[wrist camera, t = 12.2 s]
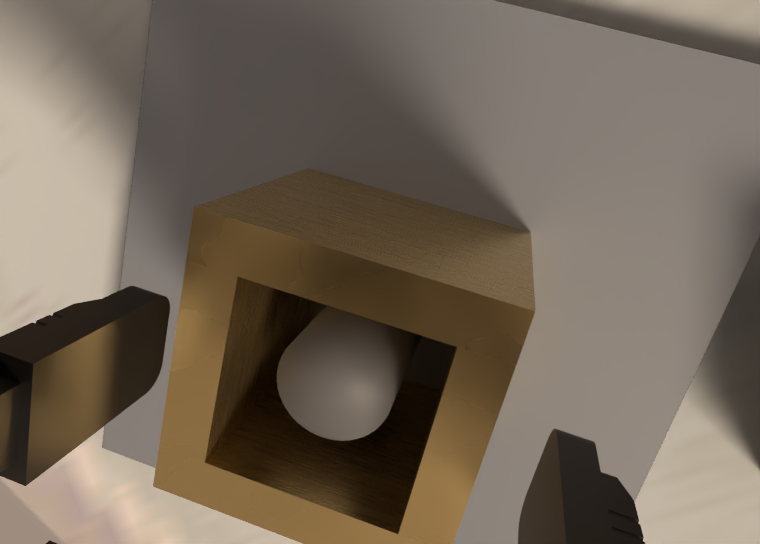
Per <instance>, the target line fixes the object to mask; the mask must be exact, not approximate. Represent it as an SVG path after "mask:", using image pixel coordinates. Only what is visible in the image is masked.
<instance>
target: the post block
mask: <svg viewBox="0 0 760 544" xmlns="http://www.w3.org/2000/svg"><path fill="white" fill-rule="evenodd" d="M307 168H311V169H314V170H318V171H321V172H325V173H328V174H332V175H335V176H339V177H342V178H345V179H349V180H352V181H356V182H359V183H363V184H366V185H370V186H373V187H377V188H380V189H383V190H387V191H390V192H394V193H397V194H401V195H404V196H408V197H411V198H415V199H418V200H422V201H425V202H428V203H432V204H435V205H439V206H442V207H446V208H449V209H453V210H456V211H460V212H463V213H466V214H470V215H473V216H477V217H480V218H484V219H487V220H491V221H494V222H498V223H501V224H504V225H508V226H511V227H515V228H518V229H522V230H525V231H529V232H531V242H532V259H533V276H534V293H535V314H534V317H533V320H532V323H531V326H530V328H529V331H528V334H527V337H526V340H525V342H524V345H523V348H522V351H521V354H520V356H519V359H518V362H517V365H516V368H515V371H514V373H513V376H512V379H511V382H510V385H509V387H508V390H507V393H506V396H505V399H504V401H503V404H502V407H501V410H500V413H499V416H498V418H497V421H496V424H495V427H494V430H493V432H492V435H491V438H490V441H489V444H488V446H487V449H486V452H485V455H484V458H483V461H482V463H481V466H480V469H479V472H478V475H477V477H476V480H475V483H474V486H473V489H472V491H471V494H470V497H469V500H468V503H467V506H466V508H465V511H464V514H463V517H462V520H461V522H460V525H459V528H458V531H457V534H456V536H455V539H454V542H453V544H518V527H519V520H520V515H521V510H522V507H523V503H524V500H525V497H526V494H527V491H528V489H529V486H530V484H531V481H532V479H533V476H534V473H535V471H536V468H537V466H538V463H539V461H540V458H541V455H542V453H543V450H544V448H545V445H546V443H547V440H548V438H549V436H550V434H551V432H552V430H553V429H558V430H561V431H564V432H567V433H570V434H573V435H576V436H579V437H582V438H585V439H588V440H591V441H594V442H595V445H596V449H597V455H598V460H599V465H600V470H601V472H602V473H605V474H608V475H611V476H614V477H617V478H618V479H619V481H620V482H621V483H622V485H623V486H624V487H625V489H626V490H627V491H628V493H629V494H630V495H631V497H632V498H633V500H634V502H635V500H636V498H637V496H638V494H639V492H640V489H641V487H642V485H643V483H644V481H645V479H646V477H647V475H648V472H649V470H650V468H651V466H652V464H653V462H654V460H655V458H656V455H657V453H658V451H659V449H660V447H661V445H662V443H663V441H664V438H665V436H666V434H667V432H668V430H669V428H670V426H671V424H672V421H673V419H674V417H675V415H676V413H677V411H678V409H679V407H680V404H681V402H682V400H683V398H684V396H685V394H686V392H687V390H688V387H689V385H690V383H691V381H692V379H693V377H694V375H695V373H696V370H697V368H698V366H699V364H700V362H701V360H702V358H703V356H704V353H705V351H706V349H707V347H708V345H709V343H710V341H711V339H712V336H713V334H714V332H715V330H716V328H717V326H718V324H719V322H720V319H721V317H722V315H723V313H724V311H725V309H726V307H727V305H728V302H729V300H730V298H731V296H732V294H733V292H734V290H735V288H736V285H737V283H738V281H739V279H740V277H741V275H742V273H743V271H744V268H745V266H746V264H747V262H748V260H749V258H750V256H751V254H752V251H753V249H754V247H755V245H756V243H757V241H758V239H759V237H760V64H756V63H752V62H747V61H743V60H739V59H735V58H731V57H727V56H723V55H718V54H714V53H710V52H706V51H702V50H698V49H694V48H690V47H685V46H681V45H677V44H673V43H669V42H665V41H661V40H656V39H652V38H648V37H644V36H640V35H636V34H632V33H627V32H623V31H619V30H615V29H611V28H607V27H603V26H598V25H594V24H590V23H586V22H582V21H578V20H574V19H569V18H565V17H561V16H557V15H553V14H549V13H545V12H540V11H536V10H532V9H528V8H524V7H520V6H516V5H511V4H507V3H503V2H499V1H495V0H153V1H152V10H151V19H150V28H149V37H148V45H147V54H146V63H145V72H144V81H143V90H142V98H141V107H140V116H139V125H138V134H137V143H136V151H135V160H134V169H133V178H132V187H131V196H130V204H129V213H128V222H127V231H126V240H125V249H124V257H123V266H122V275H121V284H120V290H122V289H124V288H126V287H129V286H136V287H139V288H142V289H145V290H148V291H151V292H154V293H157V294H160V295H163V296H166V297H167V298H168V299H169V302H170V314H169V321H168V328H167V335H166V342H165V349H164V356H163V363H162V368H161V371H160V374H159V376H158V379H157V380H156V382H155V384H154V385H153V387H152V388H151V389H150V390H149V392H147V393H146V394H145V395H144V396H142V397H141V398H140V399H139V400H137V401H136V402H135V403H133V404H132V405H131V406H129V407H128V408H127V409H125V410H124V411H123V412H122V413H120V414H119V415H118V416H116V417H115V418H114V419H112V420H111V421H110V422H108V423H107V424H106V425H105V426H104V434H103V443H102V448H105V449H107V450H110V451H113V452H115V453H118V454H120V455H123V456H126V457H128V458H131V459H134V460H136V461H139V462H142V463H144V464H147V465H149V466H152V467H155V468H156V464H157V457H158V450H159V443H160V436H161V429H162V422H163V416H164V409H165V402H166V395H167V388H168V381H169V374H170V368H171V361H172V354H173V347H174V340H175V333H176V326H177V320H178V313H179V306H180V299H181V292H182V285H183V279H184V272H185V265H186V258H187V251H188V244H189V237H190V231H191V224H192V217H193V210H194V206H197V205H200V204H203V203H206V202H209V201H212V200H215V199H218V198H221V197H224V196H227V195H230V194H233V193H236V192H239V191H241V190H244V189H247V188H250V187H253V186H256V185H259V184H262V183H265V182H268V181H271V180H274V179H277V178H280V177H283V176H286V175H289V174H292V173H295V172H298V171H301V170H304V169H307ZM452 348H453V346H452V345H449V344H446V343H443V342H440V341H437V340H434V339H431V338H427V337H424V336H421V335H418V334H415V333H412V332H409V331H406V330H403V329H399V328H396V327H393V326H390V325H387V324H384V323H381V322H378V321H375V320H371V319H368V318H365V317H362V316H359V315H356V314H353V313H350V312H347V311H343V310H340V309H337V308H334V307H331V306H328V305H325V304H322V303H318V302H316V305H315V310H314V314H313V319H312V321H311V322H310V324H309V325H308V326H307V327H306V328H305V329H304V330H303V331H302V332H301V333H300V334H299V335H298V336H297V337H296V338H295V340H294V341H293V342H292V343H291V344H290V345H289V346H288V347H287V348H286V350H285V351H284V353H283V354H282V357H281V359H280V361H279V365H278V369H277V387H278V391H279V395H280V398H281V400H282V402H283V404H284V406H285V408H286V409H287V411H288V412H289V414H290V415H291V416H292V417H293V418H294V419H295V421H297V422H298V423H299V424H300V425H301V426H302V427H304V428H305V429H307V430H308V431H310V432H312V433H313V434H316V435H318V436H320V437H323V438H327V439H331V440H340V441H346V440H354V439H358V438H361V437H364V436H366V435H368V434H370V433H372V432H373V431H375V430H376V429H377V428H378V427H379V426H380V425H381V424H382V423H383V422H384V421H385V419H386V418H387V416H388V414H389V412H390V410H391V407H392V405H393V403H394V400H395V398H396V395H397V393H398V391H399V388H400V386H401V384H402V381H403V379H404V378H406V379H409V380H412V381H415V382H418V383H421V384H424V385H427V386H430V387H433V388H436V389H440V386H441V383H442V380H443V377H444V373H445V370H446V367H447V364H448V361H449V357H450V354H451V351H452Z"/></svg>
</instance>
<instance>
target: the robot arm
mask: <svg viewBox="0 0 760 544" xmlns="http://www.w3.org/2000/svg"><path fill="white" fill-rule="evenodd" d="M169 314H170V302H169V299H168V298H167V297H166V296H163V295H160V294H157V293H154V292H151V291H148V290H145V289H142V288H139V287H136V286H129V287H126V288H124V289H122V290H120V291H118V292H116V293H114V294H111V295H109V296H107V297H105V298H103V299H98V300H93V301H88V302H82V303H77V304H73V305H71V306H68V307H66V308H64V309H62V310H59V311H57V312H55V313H54V314H53V316H51V315H48V316H46V317H44V318H42V319H39V320H37V322H36V323H30V324H28V325H26V326H24V327H22V328H19V329H17V330H15V331H13V332H10V333H8V334H6V335H4V336H1V337H0V476H2V477H5V478H7V479H10V480H12V481H14V482H17V483H19V484H22V485H24V486H26V485H28V484H29V483H30V482H32V481H33V480H34V479H35V478H37V477H38V476H39V475H41V474H42V473H43V472H45V471H46V470H47V469H48V468H50V467H51V466H52V465H54V464H55V463H56V462H58V461H59V460H60V459H62V458H63V457H64V456H65V455H67V454H68V453H69V452H71V451H72V450H73V449H75V448H76V447H77V446H78V445H80V444H81V443H82V442H84V441H85V440H86V439H88V438H89V437H90V436H92V435H93V434H94V433H95V432H97V431H98V430H99V429H101V428H102V427H103V426H105V425H106V424H107V423H108V422H110V421H111V420H112V419H114V418H115V417H116V416H118V415H119V414H120V413H122V412H123V411H124V410H125V409H127V408H128V407H129V406H131V405H132V404H133V403H135V402H136V401H137V400H139V399H140V398H141V397H142V396H144V395H145V394H146V393H147V392H149V390H150V389H151V388H152V387H153V385H154V384H155V382H156V380H157V379H158V376H159V374H160V371H161V368H162V363H163V356H164V349H165V342H166V335H167V328H168V321H169ZM638 521H639V519H638V515H637V511H636V507H635V503H634V500H633V498H632V497H631V495H630V494H629V493H628V491H627V490H626V489H625V487H624V486H623V485H622V483H621V482H620V481H619V479H618V478H617V477H614V476H611V475H608V474H605V473H602V472H601V470H600V465H599V460H598V455H597V449H596V445H595V442H594V441H591V440H588V439H585V438H582V437H579V436H576V435H573V434H570V433H567V432H564V431H561V430H558V429H553V430H552V432H551V434H550V436H549V438H548V440H547V443H546V445H545V448H544V450H543V453H542V455H541V458H540V461H539V463H538V466H537V468H536V471H535V473H534V476H533V479H532V481H531V484H530V486H529V489H528V491H527V494H526V497H525V500H524V503H523V507H522V510H521V515H520V520H519V527H518V544H645V542H643V534H642V530H641V526H640V524H638ZM46 544H57V543H54V542H52V541H49V542H47V543H46Z"/></svg>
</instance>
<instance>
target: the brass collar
mask: <svg viewBox="0 0 760 544" xmlns="http://www.w3.org/2000/svg"><path fill="white" fill-rule="evenodd" d="M316 302H318V303H322V304H325V305H328V306H331V307H334V308H337V309H340V310H343V311H347V312H350V313H353V314H356V315H359V316H362V317H365V318H368V319H371V320H375V321H378V322H381V323H384V324H387V325H390V326H393V327H396V328H399V329H403V330H406V331H409V332H412V333H415V334H418V335H421V336H424V337H427V338H431V339H434V340H437V341H440V342H443V343H446V344H449V345H452V346H453V348H452V351H451V354H450V357H449V361H448V364H447V367H446V370H445V373H444V377H443V380H442V383H441V386H440V389H436V388H433V387H430V386H427V385H424V384H421V383H418V382H415V381H412V380H409V379H406V378H404V379H403V381H402V384H401V386H400V388H399V391H398V393H397V395H396V398H395V400H394V403H393V405H392V407H391V410H390V412H389V414H388V416H387V418H386V419H385V421H384V422H383V423H382V424H381V425H380V426H379V427H378V428H377V429H376V430H375V431H373V432H372V433H370V434H368V435H366V436H364V437H361V438H358V439H354V440H346V441H340V440H331V439H327V438H323V437H320V436H318V435H316V434H313V433H312V432H310V431H308V430H307V429H305V428H304V427H302V426H301V425H300V424H299V423H298V422H297V421H295V419H294V418H293V417H292V416H291V415H290V414H289V412H288V411H287V409H286V408H285V406H284V404H283V402H282V400H281V398H280V395H279V391H278V387H277V369H278V365H279V361H280V359H281V357H282V354H283V353H284V351H285V350H286V348H287V347H288V346H289V345H290V344H291V343H292V342H293V341H294V340H295V338H296V337H297V336H298V335H299V334H300V333H301V332H302V331H303V330H304V329H305V328H306V327H307V326H308V325H309V324H310V322H311V321H312V319H313V314H314V310H315V305H316ZM534 314H535V293H534V276H533V259H532V242H531V232H529V231H525V230H522V229H518V228H515V227H511V226H508V225H504V224H501V223H498V222H494V221H491V220H487V219H484V218H480V217H477V216H473V215H470V214H466V213H463V212H460V211H456V210H453V209H449V208H446V207H442V206H439V205H435V204H432V203H428V202H425V201H422V200H418V199H415V198H411V197H408V196H404V195H401V194H397V193H394V192H390V191H387V190H383V189H380V188H377V187H373V186H370V185H366V184H363V183H359V182H356V181H352V180H349V179H345V178H342V177H339V176H335V175H332V174H328V173H325V172H321V171H318V170H314V169H311V168H307V169H304V170H301V171H298V172H295V173H292V174H289V175H286V176H283V177H280V178H277V179H274V180H271V181H268V182H265V183H262V184H259V185H256V186H253V187H250V188H247V189H244V190H241V191H239V192H236V193H233V194H230V195H227V196H224V197H221V198H218V199H215V200H212V201H209V202H206V203H203V204H200V205H197V206H194V210H193V217H192V224H191V231H190V237H189V244H188V251H187V258H186V265H185V272H184V279H183V285H182V292H181V299H180V306H179V313H178V320H177V326H176V333H175V340H174V347H173V354H172V361H171V368H170V374H169V381H168V388H167V395H166V402H165V409H164V416H163V422H162V429H161V436H160V443H159V450H158V457H157V464H156V470H155V477H154V484H153V486H154V487H156V488H159V489H162V490H164V491H167V492H169V493H172V494H175V495H177V496H180V497H183V498H185V499H188V500H190V501H193V502H196V503H198V504H201V505H204V506H206V507H209V508H211V509H214V510H217V511H219V512H222V513H225V514H227V515H230V516H232V517H235V518H238V519H240V520H243V521H246V522H248V523H251V524H253V525H256V526H259V527H261V528H264V529H267V530H269V531H272V532H274V533H277V534H280V535H282V536H285V537H288V538H290V539H293V540H295V541H298V542H301V543H303V544H453V542H454V539H455V536H456V534H457V531H458V528H459V525H460V522H461V520H462V517H463V514H464V511H465V508H466V506H467V503H468V500H469V497H470V494H471V491H472V489H473V486H474V483H475V480H476V477H477V475H478V472H479V469H480V466H481V463H482V461H483V458H484V455H485V452H486V449H487V446H488V444H489V441H490V438H491V435H492V432H493V430H494V427H495V424H496V421H497V418H498V416H499V413H500V410H501V407H502V404H503V401H504V399H505V396H506V393H507V390H508V387H509V385H510V382H511V379H512V376H513V373H514V371H515V368H516V365H517V362H518V359H519V356H520V354H521V351H522V348H523V345H524V342H525V340H526V337H527V334H528V331H529V328H530V326H531V323H532V320H533V317H534Z"/></svg>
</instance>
